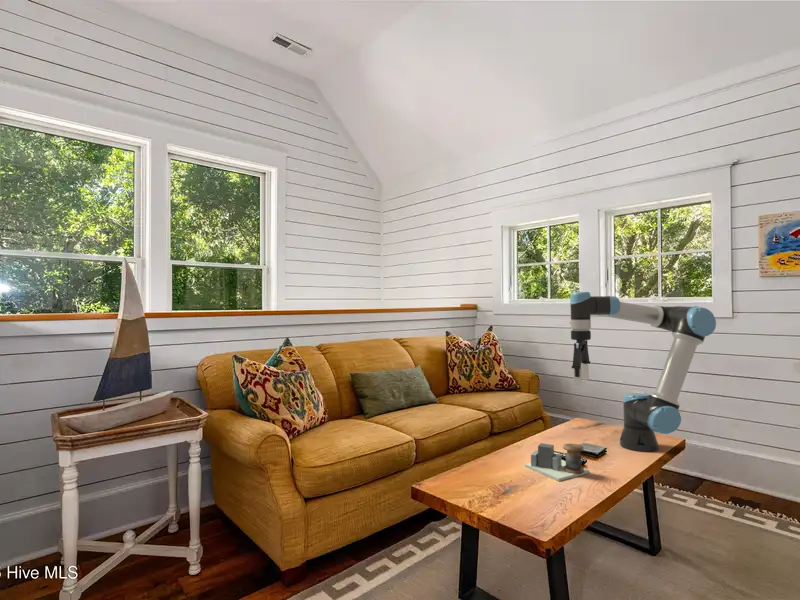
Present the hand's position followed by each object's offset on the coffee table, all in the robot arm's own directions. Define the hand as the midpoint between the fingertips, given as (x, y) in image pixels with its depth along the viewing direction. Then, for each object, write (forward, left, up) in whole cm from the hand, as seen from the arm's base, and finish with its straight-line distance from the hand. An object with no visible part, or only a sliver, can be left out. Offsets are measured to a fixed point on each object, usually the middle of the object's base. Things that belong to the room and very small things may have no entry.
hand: (581, 382), depth 194 cm
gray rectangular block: (+20, 0, -31) cm, 36 cm away
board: (+17, +2, -32) cm, 36 cm away
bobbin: (+14, +8, -32) cm, 36 cm away
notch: (+20, 0, -32) cm, 37 cm away
